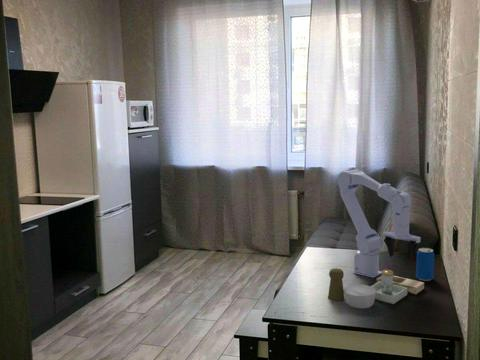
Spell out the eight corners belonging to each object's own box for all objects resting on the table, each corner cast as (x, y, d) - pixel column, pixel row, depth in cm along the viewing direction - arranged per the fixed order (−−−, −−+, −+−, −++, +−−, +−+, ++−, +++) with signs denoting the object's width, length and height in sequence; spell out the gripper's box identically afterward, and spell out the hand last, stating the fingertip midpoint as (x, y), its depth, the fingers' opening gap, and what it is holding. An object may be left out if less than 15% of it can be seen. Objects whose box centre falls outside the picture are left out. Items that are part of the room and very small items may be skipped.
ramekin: (341, 307, 180) (341, 293, 179) (346, 296, 191) (346, 282, 190) (373, 312, 176) (374, 297, 175) (377, 299, 186) (377, 286, 186)
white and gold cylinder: (379, 293, 190) (379, 271, 189) (384, 290, 193) (384, 268, 192) (389, 296, 187) (390, 274, 186) (394, 293, 190) (395, 271, 189)
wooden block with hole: (376, 284, 201) (376, 278, 201) (384, 279, 206) (384, 273, 206) (416, 294, 190) (416, 287, 190) (423, 288, 196) (424, 282, 195)
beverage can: (434, 282, 202) (435, 252, 200) (417, 281, 203) (418, 251, 202) (431, 276, 208) (433, 247, 206) (415, 275, 210) (416, 247, 208)
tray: (365, 296, 189) (365, 289, 189) (379, 287, 198) (379, 281, 197) (393, 304, 182) (393, 297, 182) (407, 294, 190) (407, 287, 190)
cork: (334, 302, 185) (334, 273, 183) (324, 297, 190) (324, 268, 188) (348, 299, 187) (348, 270, 186) (337, 293, 193) (337, 265, 191)
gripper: (379, 223, 200) (378, 256, 203) (415, 228, 191) (414, 263, 193) (387, 219, 206) (387, 252, 208) (423, 224, 196) (422, 259, 198)
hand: (400, 257), depth 201 cm, fingers open, 7 cm apart
